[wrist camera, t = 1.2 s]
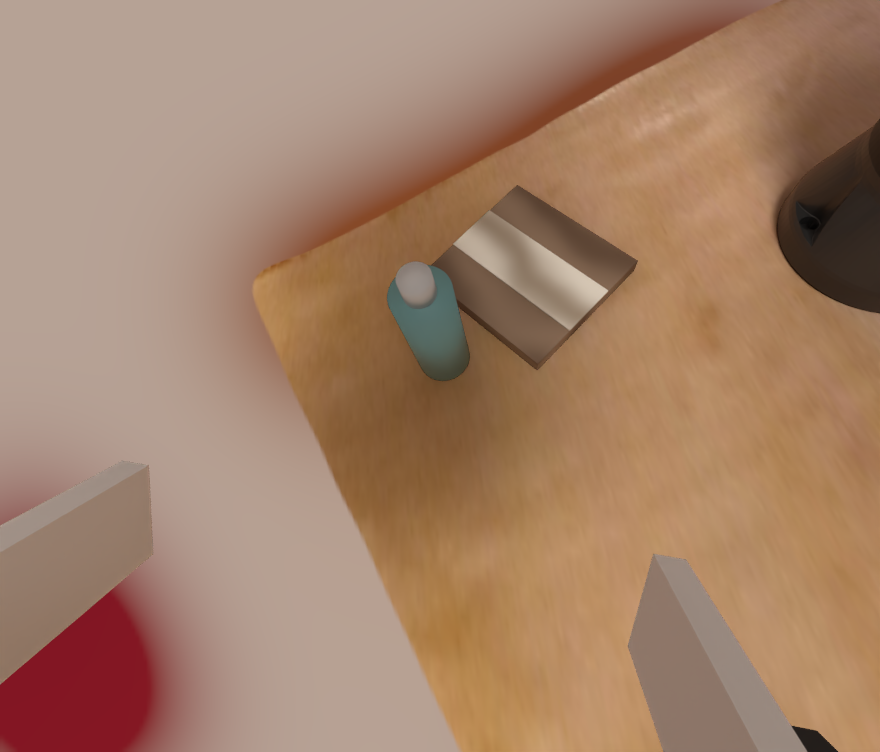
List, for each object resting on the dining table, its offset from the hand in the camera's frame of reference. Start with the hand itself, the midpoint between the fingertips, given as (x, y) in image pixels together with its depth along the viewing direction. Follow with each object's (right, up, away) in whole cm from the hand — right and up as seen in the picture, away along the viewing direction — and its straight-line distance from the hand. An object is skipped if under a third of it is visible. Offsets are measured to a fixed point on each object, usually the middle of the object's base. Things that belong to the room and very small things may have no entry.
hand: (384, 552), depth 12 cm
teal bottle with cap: (+2, +6, +30) cm, 30 cm away
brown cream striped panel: (+10, +14, +31) cm, 35 cm away
